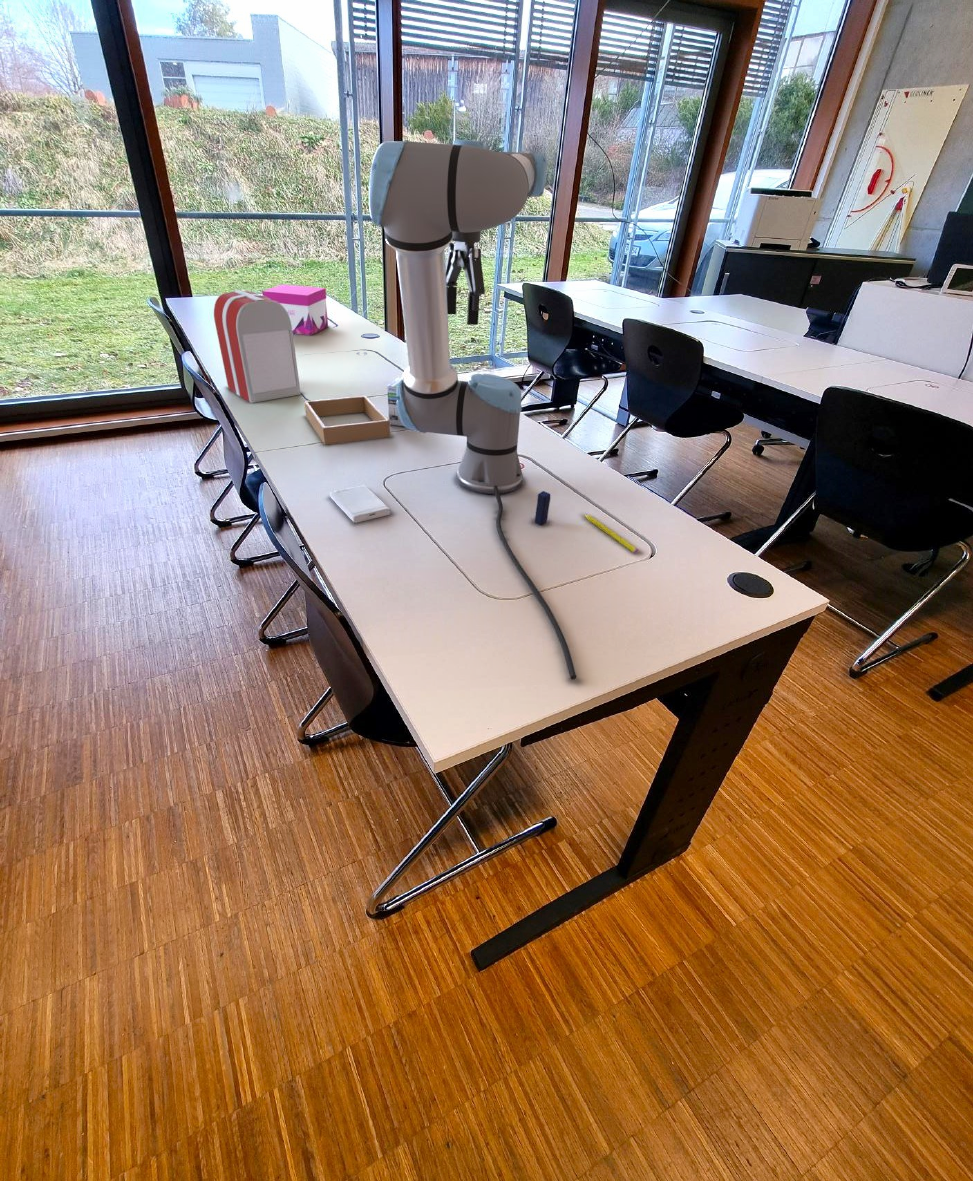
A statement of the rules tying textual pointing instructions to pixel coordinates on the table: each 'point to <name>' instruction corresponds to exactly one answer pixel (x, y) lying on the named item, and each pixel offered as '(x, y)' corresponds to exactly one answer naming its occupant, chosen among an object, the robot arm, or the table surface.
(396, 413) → the light bulb box
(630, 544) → the pencil
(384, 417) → the shallow wooden tray
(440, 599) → the table surface
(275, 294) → the decorative box
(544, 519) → the navy blue rectangular block
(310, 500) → the table surface
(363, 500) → the hard drive
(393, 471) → the table surface
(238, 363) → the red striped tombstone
